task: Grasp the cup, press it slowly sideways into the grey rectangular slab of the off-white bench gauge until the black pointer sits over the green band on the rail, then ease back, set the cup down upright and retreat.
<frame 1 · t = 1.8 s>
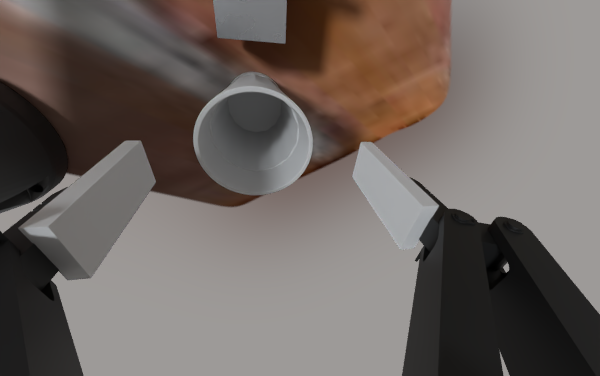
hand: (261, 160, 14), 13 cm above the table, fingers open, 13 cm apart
cup: (255, 102, 24), on the table
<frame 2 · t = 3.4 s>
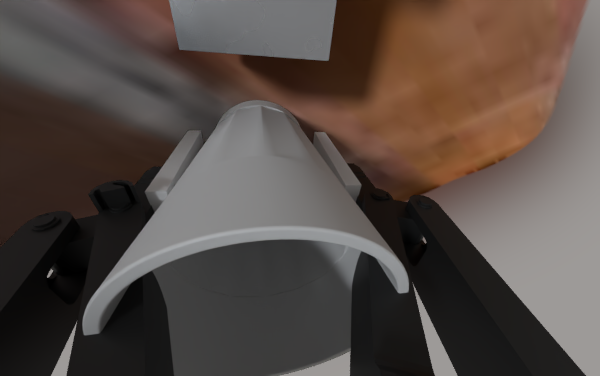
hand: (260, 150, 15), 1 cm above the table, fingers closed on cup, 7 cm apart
cup: (260, 145, 16), on the table, touching gripper
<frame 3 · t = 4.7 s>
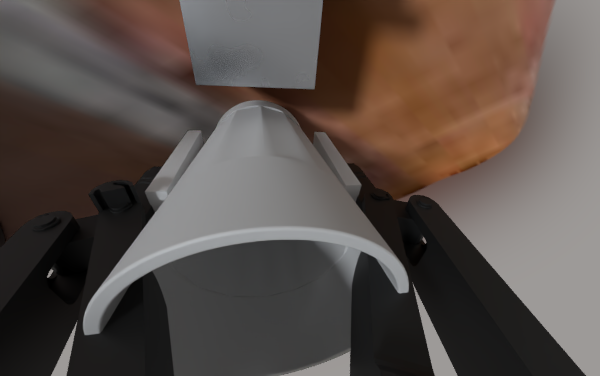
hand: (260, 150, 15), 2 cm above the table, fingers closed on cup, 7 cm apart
cup: (260, 145, 16), point 1 cm above the table, touching gripper
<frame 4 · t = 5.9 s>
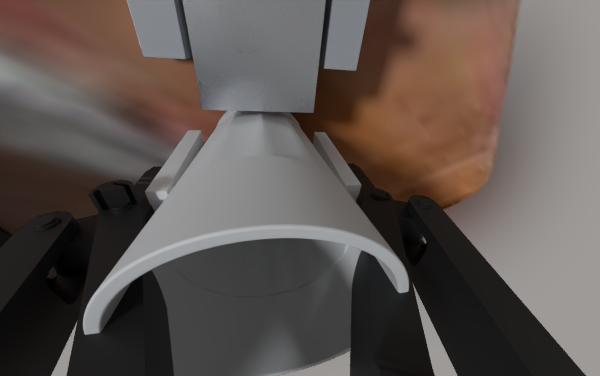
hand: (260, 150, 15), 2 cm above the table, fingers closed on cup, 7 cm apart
grey rectangular slab: (287, 4, 9), point 4 cm above the table, slide at 4.1 cm
cup: (260, 145, 16), point 1 cm above the table, touching gripper
when the fingers open (2 cm above the table, at t = 7.7 s): cup stays where it is, on the table.
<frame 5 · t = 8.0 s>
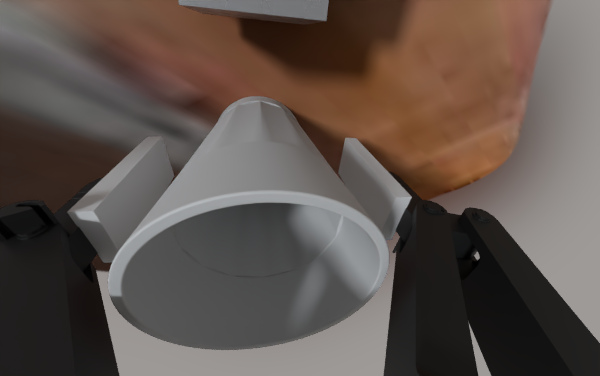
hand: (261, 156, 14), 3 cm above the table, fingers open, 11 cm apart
cup: (259, 139, 16), on the table
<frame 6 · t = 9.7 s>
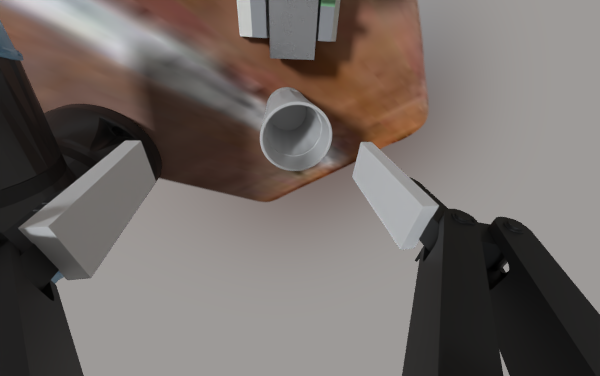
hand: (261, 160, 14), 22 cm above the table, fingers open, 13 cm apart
grey rectangular slab: (303, 15, 24), point 4 cm above the table, slide at 4.2 cm
cup: (286, 109, 33), on the table
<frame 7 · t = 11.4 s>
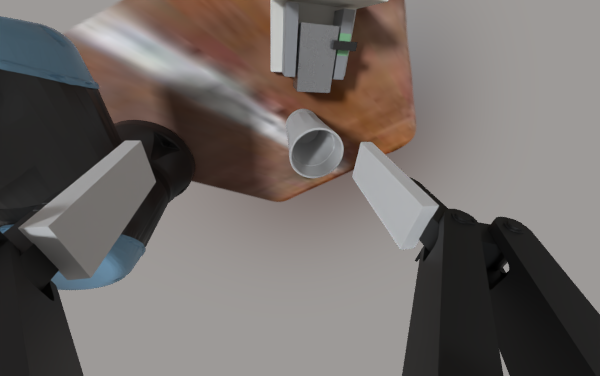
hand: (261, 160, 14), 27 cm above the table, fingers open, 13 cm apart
grey rectangular slab: (322, 60, 31), point 4 cm above the table, slide at 4.2 cm
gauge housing: (310, 35, 32), on the table
cup: (302, 125, 41), on the table
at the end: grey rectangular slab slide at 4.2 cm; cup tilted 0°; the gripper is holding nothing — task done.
